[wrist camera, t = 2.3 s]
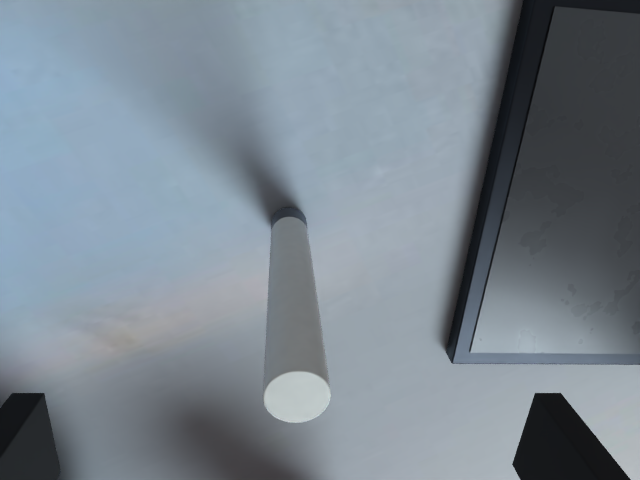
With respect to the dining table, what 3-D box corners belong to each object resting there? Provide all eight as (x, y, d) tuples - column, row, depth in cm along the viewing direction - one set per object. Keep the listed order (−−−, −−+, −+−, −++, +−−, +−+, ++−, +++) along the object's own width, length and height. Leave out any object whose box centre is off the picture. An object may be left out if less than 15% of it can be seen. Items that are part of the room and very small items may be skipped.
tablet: (526, -17, 22) (540, -20, 21) (816, 10, 24) (845, 9, 22) (445, 352, 31) (452, 365, 30) (661, 354, 32) (676, 366, 31)
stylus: (272, 206, 26) (263, 370, 13) (307, 207, 26) (333, 370, 13) (271, 238, 26) (262, 423, 14) (305, 240, 27) (328, 423, 14)
